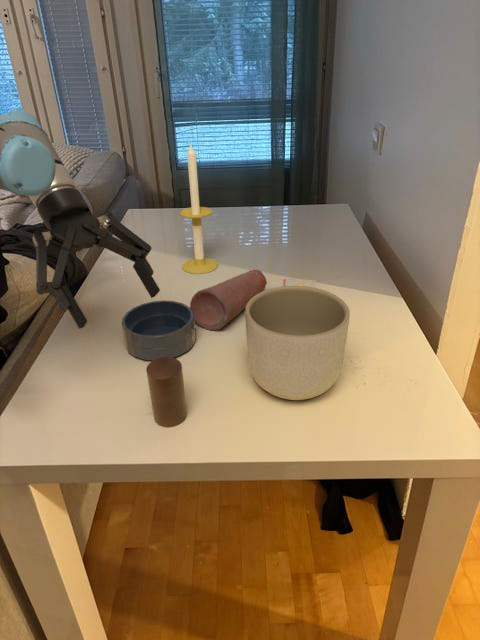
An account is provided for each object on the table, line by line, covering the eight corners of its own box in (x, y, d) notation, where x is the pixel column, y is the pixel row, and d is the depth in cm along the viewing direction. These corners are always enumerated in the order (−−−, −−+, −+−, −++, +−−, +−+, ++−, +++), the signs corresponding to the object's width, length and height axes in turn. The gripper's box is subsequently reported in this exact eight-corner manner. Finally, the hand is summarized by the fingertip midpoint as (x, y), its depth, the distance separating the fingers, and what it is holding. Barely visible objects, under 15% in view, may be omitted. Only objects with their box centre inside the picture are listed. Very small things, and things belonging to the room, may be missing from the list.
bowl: (153, 372, 88) (149, 345, 85) (113, 343, 97) (108, 318, 93) (209, 341, 96) (207, 316, 93) (168, 317, 105) (165, 294, 102)
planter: (259, 349, 93) (259, 280, 85) (345, 361, 89) (353, 290, 81) (235, 404, 79) (232, 329, 72) (336, 421, 75) (345, 343, 67)
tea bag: (283, 315, 105) (284, 274, 99) (313, 317, 103) (316, 276, 98) (281, 323, 101) (282, 282, 96) (312, 326, 100) (315, 284, 95)
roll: (167, 432, 74) (160, 383, 69) (147, 415, 78) (139, 367, 72) (193, 415, 77) (189, 366, 72) (173, 399, 81) (167, 352, 76)
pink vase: (227, 335, 98) (225, 298, 93) (190, 325, 102) (186, 289, 97) (270, 293, 114) (271, 259, 109) (237, 285, 118) (236, 252, 113)
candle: (204, 255, 134) (195, 136, 118) (225, 266, 128) (219, 141, 111) (174, 265, 129) (161, 142, 112) (195, 277, 122) (184, 148, 105)
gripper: (117, 195, 87) (174, 291, 86) (-22, 231, 73) (44, 347, 71) (128, 171, 81) (190, 274, 80) (-21, 204, 67) (52, 331, 65)
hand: (121, 309), depth 76 cm, fingers open, 13 cm apart
